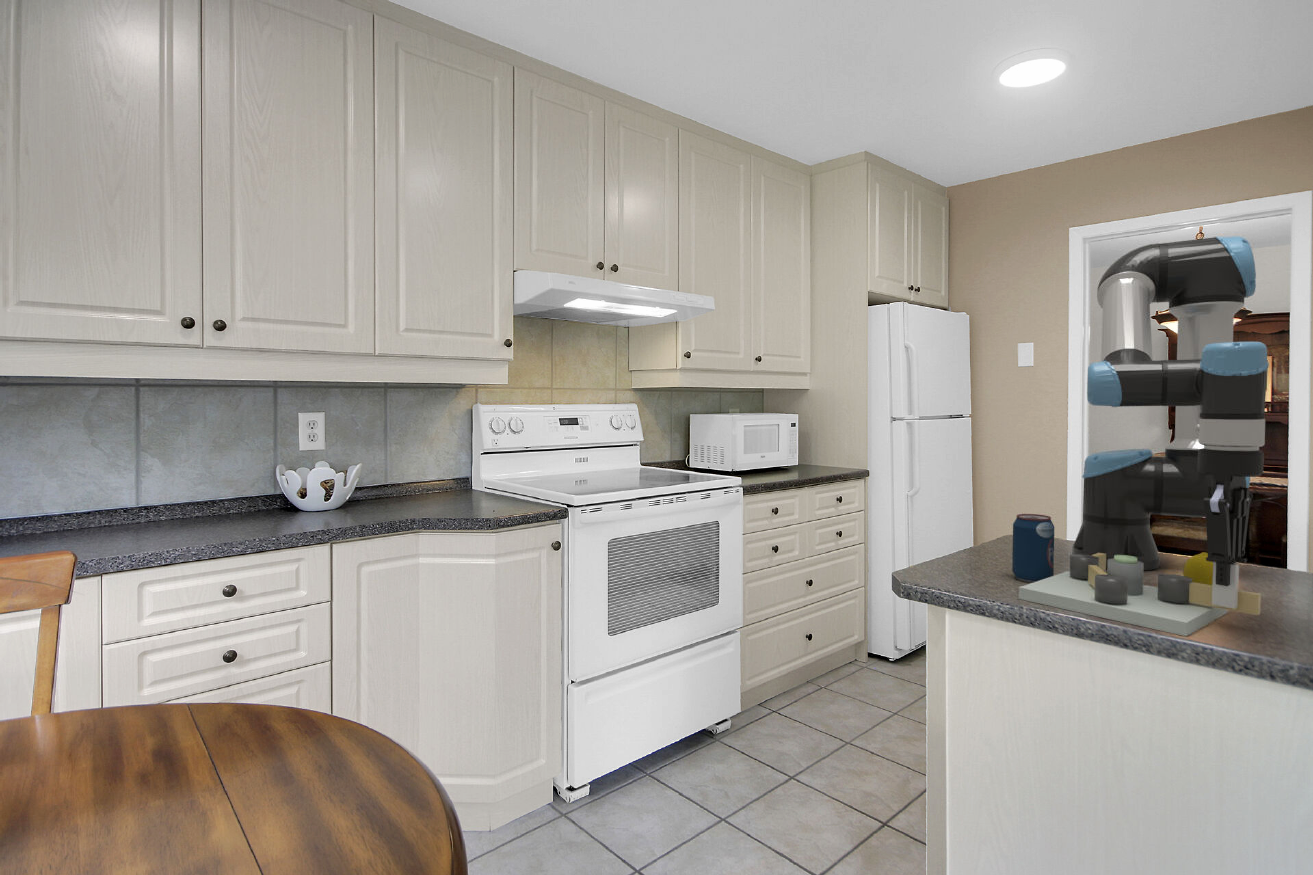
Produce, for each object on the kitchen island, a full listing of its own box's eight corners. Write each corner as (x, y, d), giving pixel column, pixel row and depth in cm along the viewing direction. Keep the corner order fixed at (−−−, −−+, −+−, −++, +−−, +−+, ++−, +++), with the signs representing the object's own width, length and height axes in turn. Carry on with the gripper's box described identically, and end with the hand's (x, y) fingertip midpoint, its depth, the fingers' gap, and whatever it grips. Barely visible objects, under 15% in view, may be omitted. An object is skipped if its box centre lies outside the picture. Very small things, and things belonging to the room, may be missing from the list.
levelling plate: (1067, 581, 131) (1068, 540, 131) (1227, 612, 112) (1229, 564, 112) (1018, 598, 121) (1019, 553, 120) (1186, 636, 101) (1187, 582, 101)
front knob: (1131, 604, 109) (1132, 582, 109) (1098, 602, 111) (1099, 580, 110) (1106, 583, 121) (1107, 563, 121) (1077, 581, 123) (1078, 562, 122)
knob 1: (1091, 580, 123) (1092, 561, 123) (1065, 575, 127) (1065, 556, 127) (1115, 572, 129) (1115, 553, 129) (1089, 567, 132) (1089, 549, 132)
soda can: (1059, 584, 130) (1060, 519, 129) (1019, 583, 131) (1020, 519, 130) (1044, 574, 137) (1046, 513, 136) (1006, 573, 138) (1007, 512, 137)
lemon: (1231, 604, 116) (1233, 556, 116) (1193, 602, 117) (1194, 555, 117) (1211, 594, 122) (1213, 549, 121) (1175, 593, 123) (1177, 548, 122)
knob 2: (1152, 598, 112) (1153, 576, 112) (1163, 593, 115) (1164, 572, 115) (1254, 618, 102) (1255, 594, 102) (1263, 612, 105) (1264, 589, 104)
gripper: (1214, 444, 110) (1209, 592, 112) (1183, 449, 103) (1178, 607, 104) (1276, 446, 104) (1270, 603, 106) (1248, 452, 97) (1242, 620, 98)
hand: (1224, 605), depth 105 cm, fingers closed
